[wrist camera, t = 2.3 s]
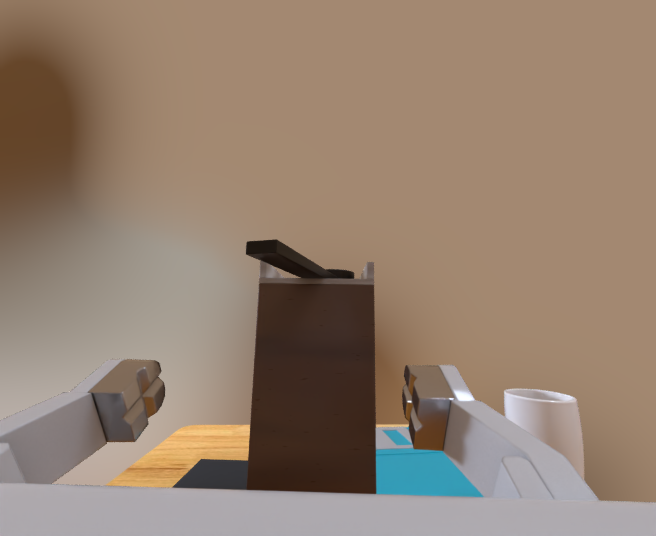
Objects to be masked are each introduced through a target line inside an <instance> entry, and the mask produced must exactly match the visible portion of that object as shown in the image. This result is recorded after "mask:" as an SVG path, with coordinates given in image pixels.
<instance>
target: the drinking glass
mask: <svg viewBox="0 0 656 536" xmlns="http://www.w3.org/2000/svg"><path fill="white" fill-rule="evenodd" d="M504 409H505V417H506V418H507V419H509V420H510V421H512V422H513V423H515V424H516V425H518V426H519V427H521V428H522V429H524V430H526V431H527V432H529V433H530V434H532V435H533V436H535V437H536V438H538V439H539V440H541V441H542V442H544V443H545V444H547V445H549V446H550V447H552V448H553V449H555V450H556V451H558V452H559V453H561V454H562V455H564V456H565V457H566V458H567V459H568V460H569V462H570V463H571V464H572V466H573V467H574V468H575V469H576V471H577V472H578V473H579V475H580V476H581V477H582V479H583V480H584V481H585V479H584V449H583V436H582V428H581V420H580V415H579V409H578V404H577V400H576V399H575V398H574V397H572V396H569V395H565V394H562V393H556V392H551V391H544V390H534V389H508V390H505V391H504Z"/></svg>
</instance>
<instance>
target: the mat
mask: <svg viewBox="0 0 656 536" xmlns="http://www.w3.org/2000/svg"><path fill="white" fill-rule="evenodd" d="M247 473H248V461H242V460H210V459H201V460H200V461H199V462H198V463H197V464H196V465H195V466H194V467H193V468H192V469H191V470H190V471H189V472H188V473H187V474H186V475H184V476H183V477H182V478H181V479H180V480H179V481H178V482H177V483H176V484H175V485H174V486H173V487H172V488H197V489H230V490H247Z"/></svg>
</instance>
